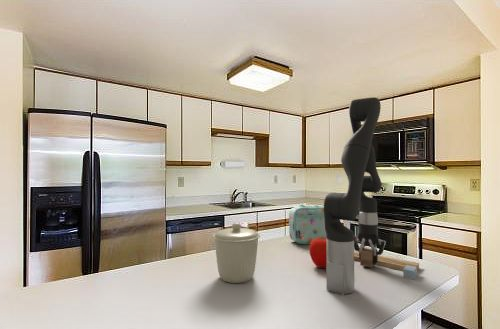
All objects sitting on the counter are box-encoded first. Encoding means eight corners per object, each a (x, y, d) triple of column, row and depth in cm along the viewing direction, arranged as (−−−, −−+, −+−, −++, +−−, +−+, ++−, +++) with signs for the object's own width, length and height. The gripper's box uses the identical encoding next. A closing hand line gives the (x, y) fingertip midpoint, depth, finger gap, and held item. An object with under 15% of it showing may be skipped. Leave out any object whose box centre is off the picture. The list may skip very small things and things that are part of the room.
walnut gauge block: (371, 267, 113) (371, 252, 113) (360, 265, 116) (360, 250, 116) (376, 263, 117) (375, 249, 118) (365, 261, 120) (365, 247, 120)
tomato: (333, 263, 121) (333, 234, 121) (339, 272, 110) (339, 240, 110) (307, 262, 122) (307, 233, 122) (310, 271, 111) (310, 240, 111)
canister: (255, 290, 94) (255, 228, 95) (205, 285, 98) (205, 226, 98) (263, 270, 112) (263, 219, 112) (221, 267, 116) (221, 217, 116)
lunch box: (293, 246, 148) (293, 206, 148) (286, 241, 158) (286, 204, 158) (337, 242, 154) (337, 204, 154) (328, 238, 164) (327, 202, 164)
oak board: (415, 273, 109) (415, 268, 109) (350, 259, 126) (350, 254, 126) (419, 267, 115) (418, 262, 115) (356, 255, 132) (356, 250, 132)
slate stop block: (413, 279, 103) (413, 271, 103) (403, 276, 105) (403, 269, 105) (416, 274, 107) (416, 267, 107) (406, 272, 110) (406, 264, 110)
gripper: (348, 221, 119) (348, 261, 118) (383, 226, 109) (384, 268, 109) (354, 219, 124) (354, 256, 124) (388, 223, 115) (389, 263, 115)
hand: (368, 262), depth 117 cm, fingers closed on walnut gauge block, 4 cm apart
